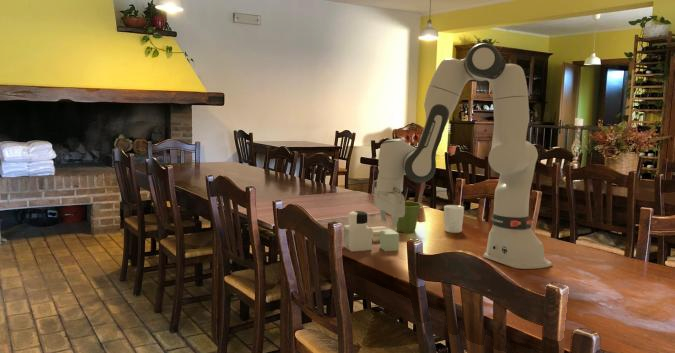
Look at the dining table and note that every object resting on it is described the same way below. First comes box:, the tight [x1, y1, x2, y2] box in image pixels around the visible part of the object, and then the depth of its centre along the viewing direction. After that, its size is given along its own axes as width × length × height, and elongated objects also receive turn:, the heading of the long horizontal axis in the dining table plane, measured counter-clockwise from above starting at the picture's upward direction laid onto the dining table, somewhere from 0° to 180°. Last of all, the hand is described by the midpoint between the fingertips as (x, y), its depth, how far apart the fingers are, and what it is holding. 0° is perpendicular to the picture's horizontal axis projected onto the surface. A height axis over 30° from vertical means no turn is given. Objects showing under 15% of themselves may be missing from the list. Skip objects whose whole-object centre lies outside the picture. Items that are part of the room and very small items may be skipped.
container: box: [343, 210, 373, 252], centre depth 187 cm, size 8×8×13 cm
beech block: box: [369, 225, 394, 243], centre depth 202 cm, size 8×8×4 cm
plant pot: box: [396, 201, 423, 234], centre depth 214 cm, size 12×12×11 cm
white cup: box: [443, 204, 465, 234], centre depth 216 cm, size 8×8×10 cm
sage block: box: [379, 229, 400, 252], centre depth 187 cm, size 5×5×6 cm
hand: (388, 224), depth 187 cm, fingers open, 8 cm apart
